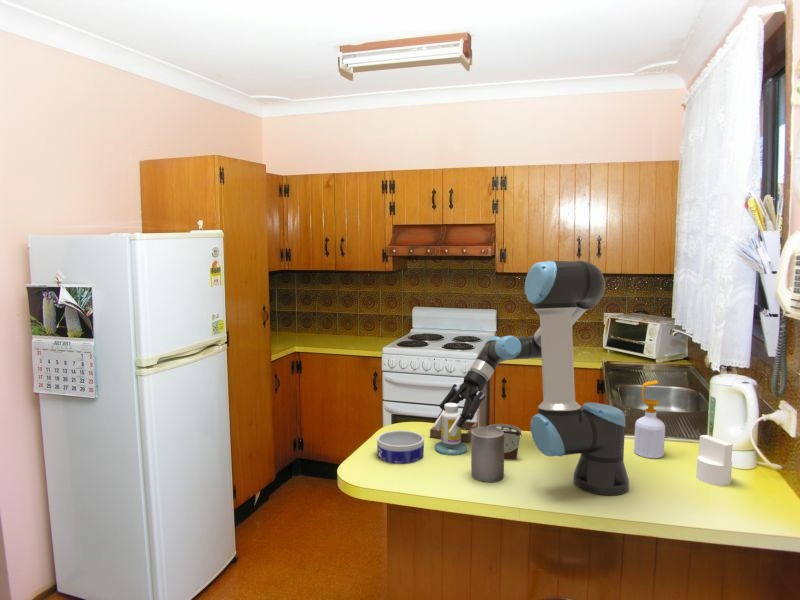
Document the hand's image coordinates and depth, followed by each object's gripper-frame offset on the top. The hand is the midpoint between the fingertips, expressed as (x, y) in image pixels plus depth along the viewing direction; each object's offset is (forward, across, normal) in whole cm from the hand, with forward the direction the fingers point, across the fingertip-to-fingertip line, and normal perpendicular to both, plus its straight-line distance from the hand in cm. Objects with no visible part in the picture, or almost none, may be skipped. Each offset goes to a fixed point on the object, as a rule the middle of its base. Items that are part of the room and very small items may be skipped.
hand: (443, 431), depth 191 cm
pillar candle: (+7, -22, -3) cm, 24 cm away
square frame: (-6, +10, -16) cm, 19 cm away
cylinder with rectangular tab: (-28, -66, -38) cm, 82 cm away
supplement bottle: (+1, 0, -6) cm, 6 cm away
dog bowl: (+14, +6, +4) cm, 16 cm away
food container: (-3, -15, -14) cm, 20 cm away
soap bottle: (-32, -44, -42) cm, 68 cm away
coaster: (+2, 0, -7) cm, 8 cm away
